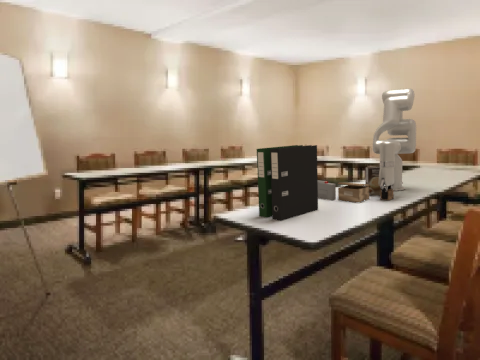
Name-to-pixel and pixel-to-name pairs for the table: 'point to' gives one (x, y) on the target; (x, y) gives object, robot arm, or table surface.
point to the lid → (355, 184)
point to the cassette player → (326, 190)
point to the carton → (353, 193)
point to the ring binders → (287, 181)
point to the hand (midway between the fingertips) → (386, 197)
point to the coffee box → (373, 180)
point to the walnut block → (390, 194)
